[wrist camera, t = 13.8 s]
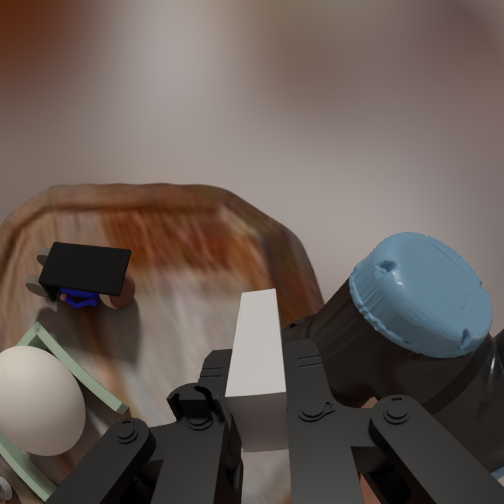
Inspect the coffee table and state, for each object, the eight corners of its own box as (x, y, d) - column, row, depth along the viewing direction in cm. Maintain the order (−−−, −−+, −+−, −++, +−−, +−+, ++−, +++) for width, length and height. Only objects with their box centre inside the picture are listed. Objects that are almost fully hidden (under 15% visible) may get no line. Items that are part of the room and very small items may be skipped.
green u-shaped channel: (129, 407, 25) (122, 402, 22) (61, 499, 14) (48, 504, 11) (49, 333, 27) (37, 320, 24) (-13, 416, 16) (-30, 410, 13)
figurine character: (41, 311, 29) (134, 323, 31) (15, 281, 23) (117, 291, 26) (54, 272, 34) (142, 278, 36) (34, 239, 28) (130, 241, 30)
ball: (107, 363, 22) (32, 314, 22) (26, 424, 10) (-44, 342, 11) (106, 436, 23) (38, 389, 24) (55, 494, 11) (-17, 426, 12)
